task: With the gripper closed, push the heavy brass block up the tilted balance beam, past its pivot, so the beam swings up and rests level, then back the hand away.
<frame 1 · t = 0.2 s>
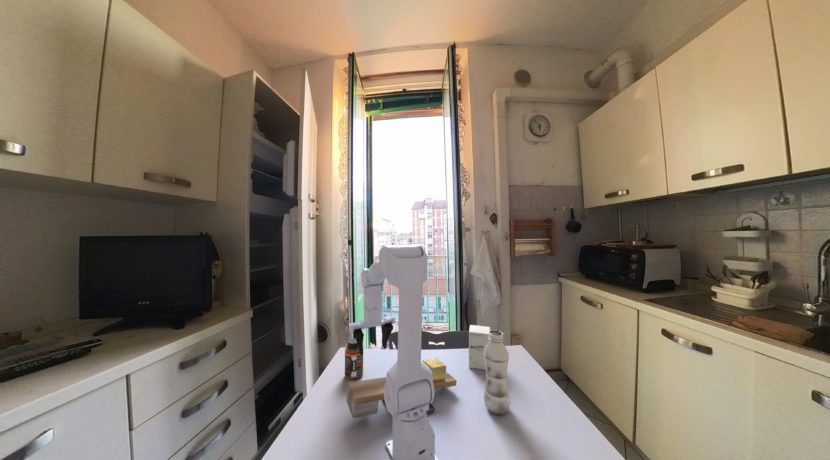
hand: (372, 350, 77), 10 cm above the table, tool pointing down, fingers open, 7 cm apart
plastic bottle: (496, 409, 65), on the table
balance beam: (404, 389, 67), point 4 cm above the table, hinge at 8.2°, touching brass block
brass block: (433, 376, 72), point 4 cm above the table, tilted 8°, touching balance beam
supplement bottle: (354, 376, 81), on the table
supplement box: (479, 365, 87), on the table
pivot stand: (405, 402, 67), on the table
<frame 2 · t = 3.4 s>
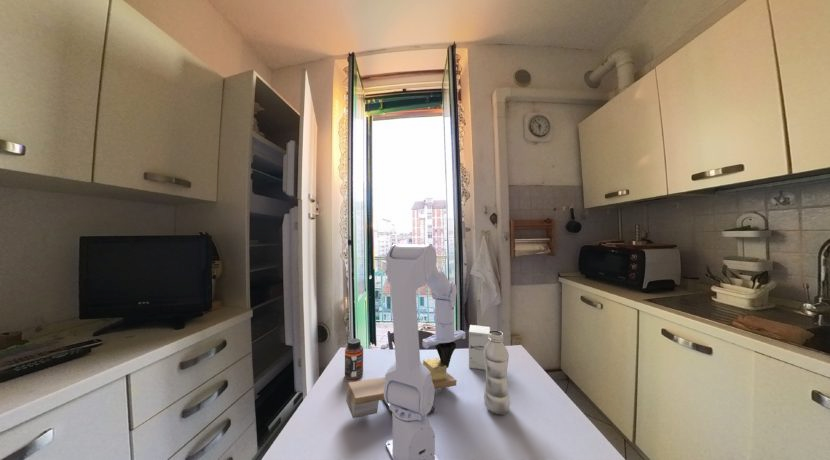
hand: (444, 366, 74), 6 cm above the table, tool pointing down, fingers closed
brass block: (433, 376, 72), point 4 cm above the table, tilted 8°, touching balance beam, gripper
everything else where it was.
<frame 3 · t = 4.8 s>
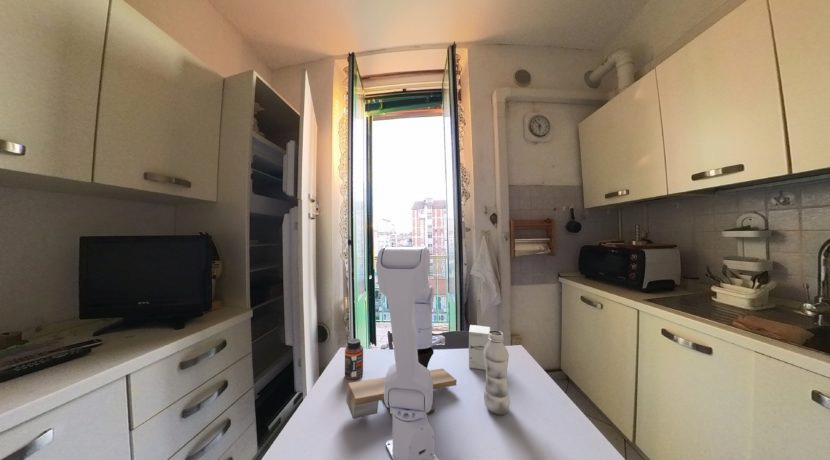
hand: (422, 373, 70), 6 cm above the table, tool pointing down, fingers closed
balance beam: (404, 389, 67), point 4 cm above the table, hinge at 7.8°, touching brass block
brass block: (409, 380, 68), point 6 cm above the table, tilted 8°, touching balance beam, gripper
everything else where it was.
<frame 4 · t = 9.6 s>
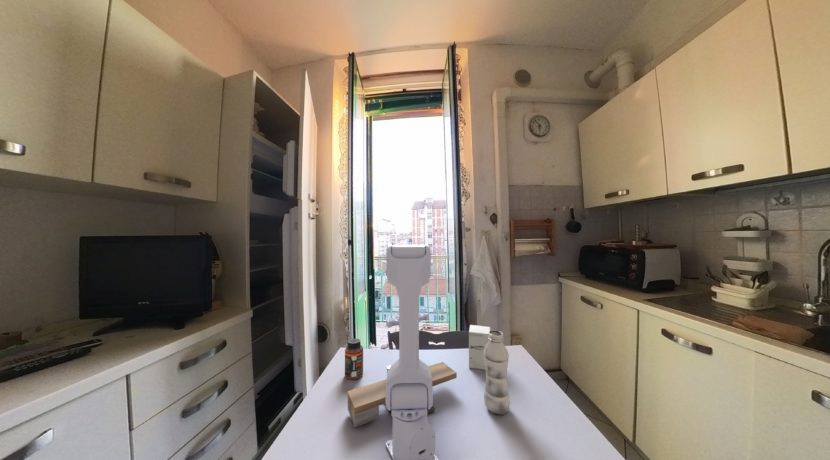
hand: (408, 345, 79), 10 cm above the table, tool pointing down, fingers closed
balance beam: (405, 389, 68), point 4 cm above the table, hinge at -0.1°, touching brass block
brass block: (398, 383, 67), point 6 cm above the table, touching balance beam
everything else where it was.
at the end: balance beam at +0° (first picture: +8°); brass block inside the target area on the balance beam (0.5 cm from its centre), point 0.7 cm above the balance beam's base; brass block tilted 0° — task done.
